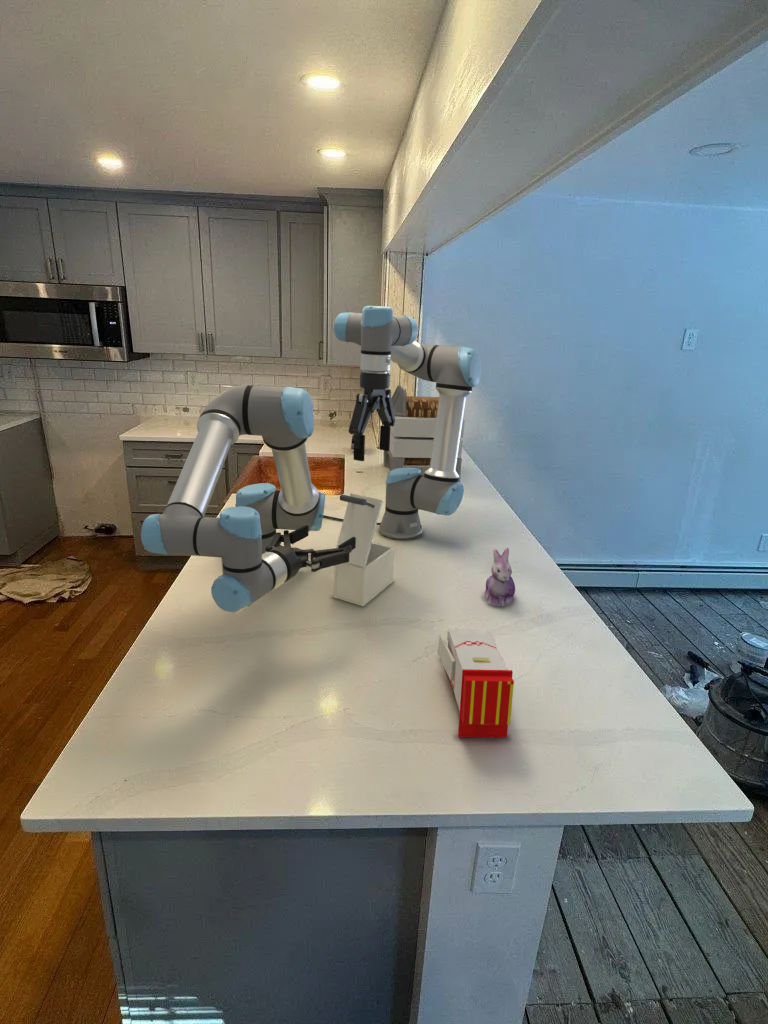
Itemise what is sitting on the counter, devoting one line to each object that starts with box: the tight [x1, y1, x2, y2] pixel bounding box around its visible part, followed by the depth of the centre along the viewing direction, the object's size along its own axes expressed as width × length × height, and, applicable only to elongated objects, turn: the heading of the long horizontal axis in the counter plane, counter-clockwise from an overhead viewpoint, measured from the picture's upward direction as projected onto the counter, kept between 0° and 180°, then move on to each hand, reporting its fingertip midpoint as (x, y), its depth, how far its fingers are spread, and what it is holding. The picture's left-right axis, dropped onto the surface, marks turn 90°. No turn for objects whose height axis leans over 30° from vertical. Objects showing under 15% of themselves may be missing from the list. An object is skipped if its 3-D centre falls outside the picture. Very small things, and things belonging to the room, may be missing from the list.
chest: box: [333, 541, 396, 607], centre depth 158 cm, size 17×9×11 cm, turn 152°
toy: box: [437, 628, 515, 738], centre depth 117 cm, size 12×13×30 cm
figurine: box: [484, 547, 516, 607], centre depth 155 cm, size 9×10×15 cm
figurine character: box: [350, 434, 354, 453], centre depth 311 cm, size 7×8×15 cm
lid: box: [335, 493, 384, 567], centre depth 146 cm, size 18×9×8 cm
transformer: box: [383, 384, 465, 483], centre depth 268 cm, size 34×33×41 cm
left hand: (330, 536), depth 137 cm, fingers open, 13 cm apart
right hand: (372, 455), depth 148 cm, fingers open, 13 cm apart
